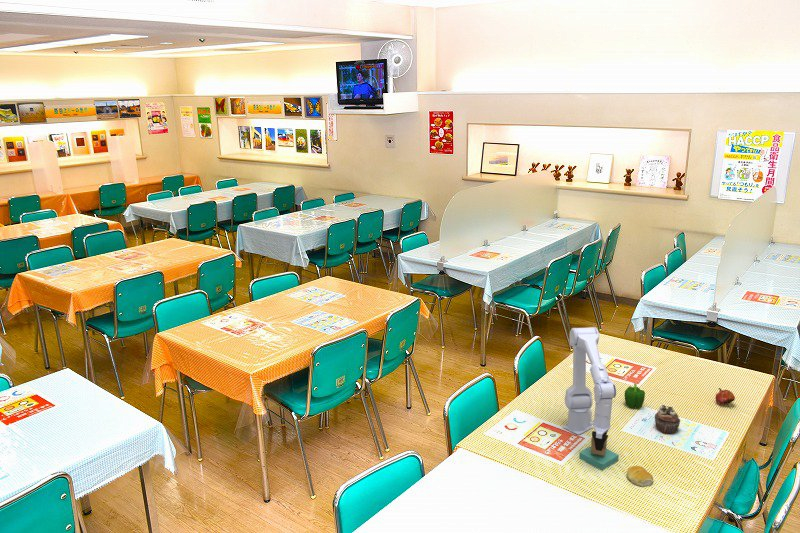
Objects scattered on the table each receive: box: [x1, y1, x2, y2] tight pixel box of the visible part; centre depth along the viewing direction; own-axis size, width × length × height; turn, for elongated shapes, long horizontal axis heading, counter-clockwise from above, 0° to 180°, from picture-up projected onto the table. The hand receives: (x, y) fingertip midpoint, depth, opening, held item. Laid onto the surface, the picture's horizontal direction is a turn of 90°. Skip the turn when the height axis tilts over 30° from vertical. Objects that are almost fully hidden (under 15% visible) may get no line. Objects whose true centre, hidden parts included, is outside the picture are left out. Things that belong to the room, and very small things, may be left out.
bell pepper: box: [624, 382, 646, 409], centre depth 267 cm, size 8×8×10 cm
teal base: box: [578, 445, 620, 471], centre depth 229 cm, size 10×10×3 cm
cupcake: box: [654, 404, 681, 435], centre depth 248 cm, size 10×10×10 cm
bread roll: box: [626, 465, 654, 487], centre depth 217 cm, size 8×9×4 cm
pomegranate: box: [714, 387, 736, 410], centre depth 268 cm, size 7×7×10 cm
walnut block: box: [590, 434, 608, 456], centre depth 227 cm, size 5×5×6 cm
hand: (599, 446), depth 228 cm, fingers closed on walnut block, 5 cm apart
